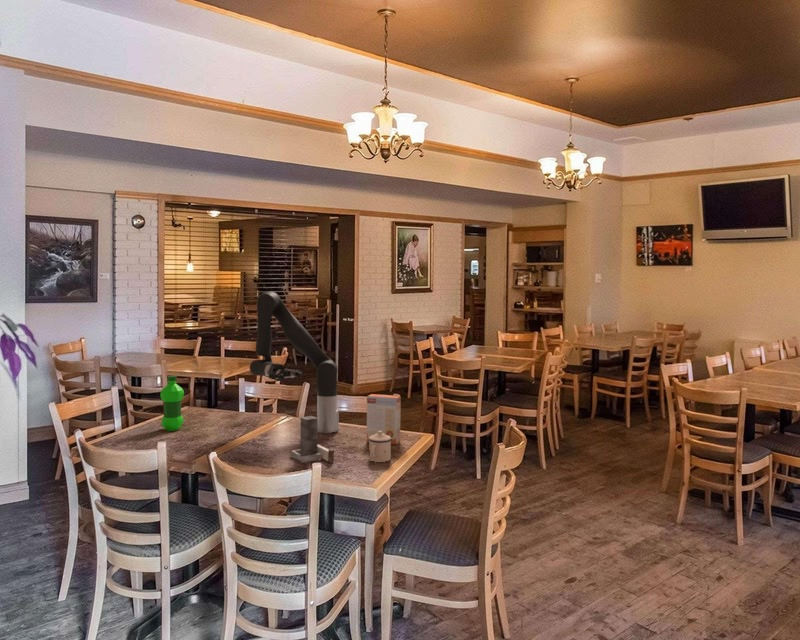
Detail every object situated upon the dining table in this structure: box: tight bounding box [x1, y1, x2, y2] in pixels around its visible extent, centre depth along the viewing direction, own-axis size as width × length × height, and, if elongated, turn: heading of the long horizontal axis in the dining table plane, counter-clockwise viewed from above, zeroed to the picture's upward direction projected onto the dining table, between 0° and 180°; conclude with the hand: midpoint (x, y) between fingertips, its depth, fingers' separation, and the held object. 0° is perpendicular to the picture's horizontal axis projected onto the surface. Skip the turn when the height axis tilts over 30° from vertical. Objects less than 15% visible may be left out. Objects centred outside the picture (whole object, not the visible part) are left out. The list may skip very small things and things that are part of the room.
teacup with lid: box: [368, 431, 392, 463], centre depth 246 cm, size 12×9×12 cm
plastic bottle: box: [159, 375, 185, 432], centre depth 289 cm, size 10×10×25 cm
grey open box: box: [290, 448, 335, 464], centre depth 248 cm, size 11×21×5 cm, turn 35°
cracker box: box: [366, 393, 402, 445], centre depth 273 cm, size 14×6×21 cm, turn 71°
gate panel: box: [317, 443, 330, 462], centre depth 251 cm, size 18×2×4 cm, turn 35°
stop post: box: [299, 415, 319, 456], centre depth 248 cm, size 5×5×16 cm
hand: (291, 376), depth 266 cm, fingers open, 8 cm apart
